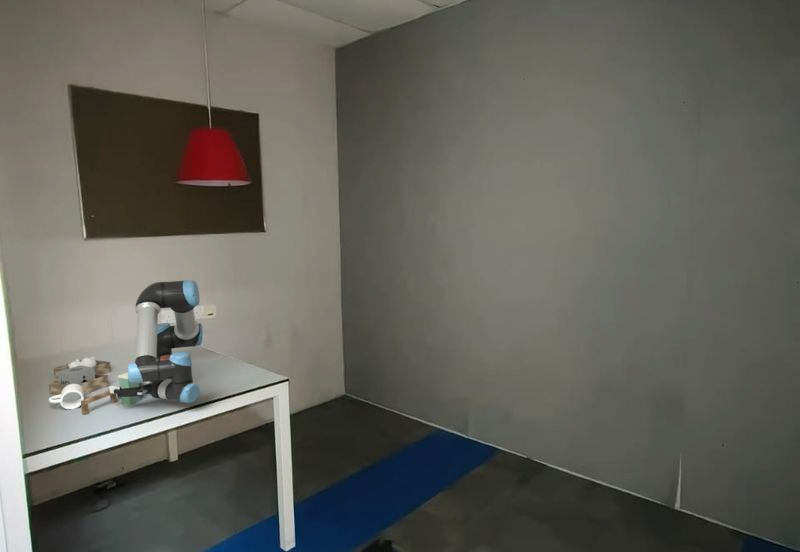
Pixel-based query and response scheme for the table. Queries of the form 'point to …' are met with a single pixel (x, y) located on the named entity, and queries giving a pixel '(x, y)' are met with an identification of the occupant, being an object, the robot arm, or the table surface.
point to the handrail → (85, 402)
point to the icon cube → (76, 375)
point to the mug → (69, 396)
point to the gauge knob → (165, 357)
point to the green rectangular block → (126, 383)
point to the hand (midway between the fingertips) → (124, 383)
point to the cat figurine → (84, 362)
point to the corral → (88, 386)
